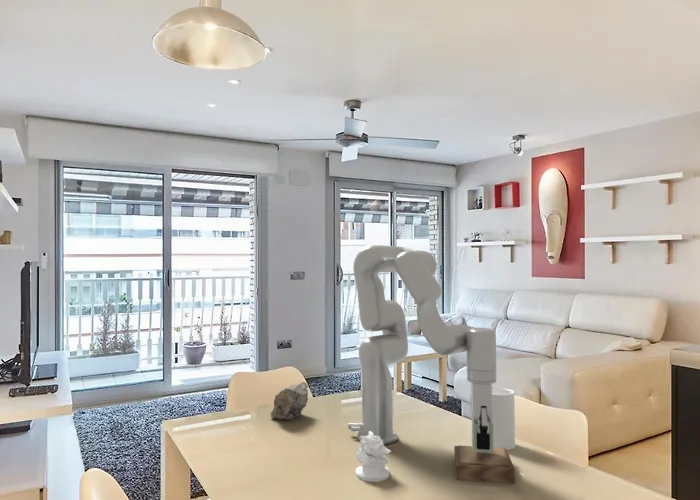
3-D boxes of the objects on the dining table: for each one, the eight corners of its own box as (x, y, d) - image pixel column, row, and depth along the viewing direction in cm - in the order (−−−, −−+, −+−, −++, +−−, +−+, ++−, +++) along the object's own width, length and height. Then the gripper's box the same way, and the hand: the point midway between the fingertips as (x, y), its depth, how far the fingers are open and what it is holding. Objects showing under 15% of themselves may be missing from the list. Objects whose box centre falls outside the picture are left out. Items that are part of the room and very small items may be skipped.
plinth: (456, 479, 125) (456, 463, 125) (454, 458, 139) (454, 443, 139) (514, 483, 123) (514, 467, 123) (506, 461, 137) (506, 446, 137)
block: (473, 450, 129) (473, 423, 129) (471, 444, 134) (471, 417, 134) (493, 452, 128) (493, 424, 128) (491, 445, 133) (490, 418, 133)
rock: (284, 405, 188) (300, 371, 185) (304, 420, 184) (321, 385, 182) (259, 418, 172) (276, 381, 170) (281, 434, 169) (299, 397, 166)
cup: (516, 451, 145) (515, 395, 145) (487, 449, 146) (486, 393, 147) (513, 441, 153) (512, 388, 153) (485, 439, 154) (484, 387, 155)
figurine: (387, 485, 122) (387, 442, 122) (350, 482, 124) (350, 439, 124) (394, 466, 133) (394, 427, 134) (360, 463, 135) (360, 424, 136)
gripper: (465, 368, 141) (465, 433, 140) (469, 382, 124) (469, 456, 123) (492, 369, 139) (493, 435, 139) (500, 383, 123) (501, 458, 122)
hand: (482, 444), depth 131 cm, fingers closed on block, 5 cm apart
